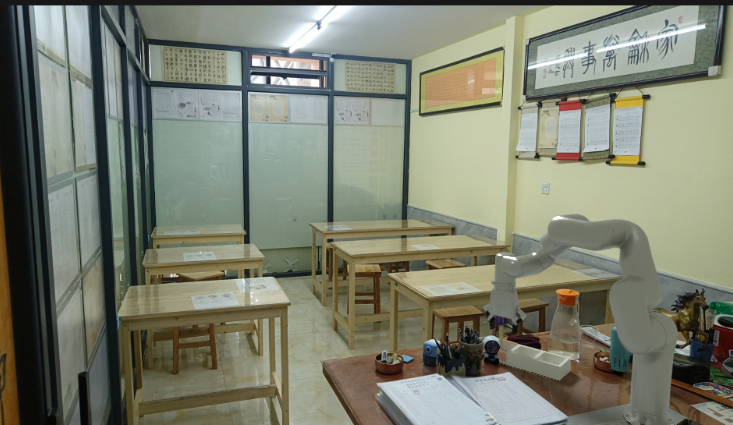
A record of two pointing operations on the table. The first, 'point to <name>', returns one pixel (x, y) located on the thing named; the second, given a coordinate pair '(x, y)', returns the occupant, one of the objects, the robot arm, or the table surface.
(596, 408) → the table surface
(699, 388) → the table surface
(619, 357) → the beverage bottle
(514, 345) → the rack
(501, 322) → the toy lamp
